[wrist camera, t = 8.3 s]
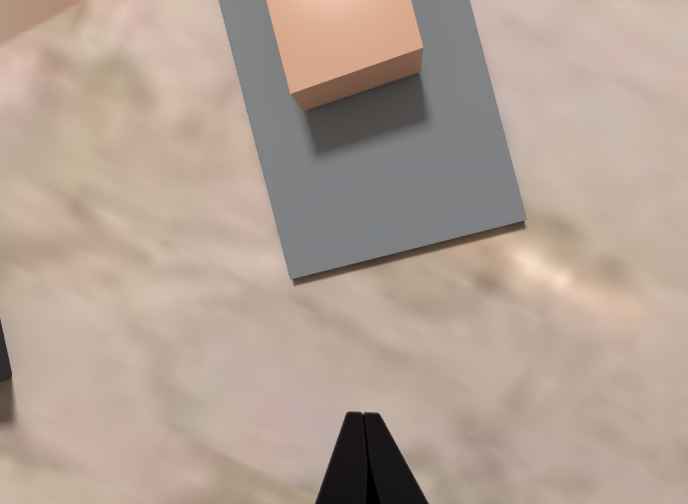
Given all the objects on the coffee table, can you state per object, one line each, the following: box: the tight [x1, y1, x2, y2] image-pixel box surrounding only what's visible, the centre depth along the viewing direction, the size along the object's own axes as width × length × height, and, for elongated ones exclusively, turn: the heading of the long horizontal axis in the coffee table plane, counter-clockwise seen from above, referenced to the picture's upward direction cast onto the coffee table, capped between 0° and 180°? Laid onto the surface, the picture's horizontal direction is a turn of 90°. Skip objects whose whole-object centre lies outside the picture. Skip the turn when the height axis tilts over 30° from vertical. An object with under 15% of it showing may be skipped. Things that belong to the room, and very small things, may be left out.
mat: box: [219, 0, 527, 279], centre depth 20 cm, size 18×14×1 cm
